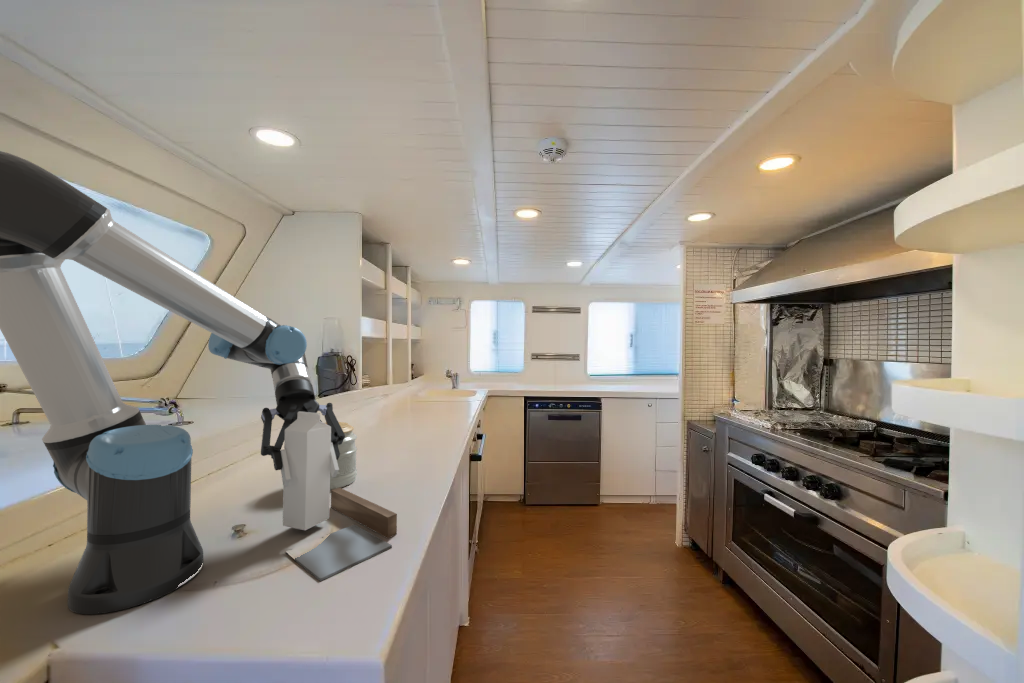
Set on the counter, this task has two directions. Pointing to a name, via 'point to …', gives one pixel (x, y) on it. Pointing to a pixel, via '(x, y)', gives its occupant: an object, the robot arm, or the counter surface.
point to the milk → (307, 472)
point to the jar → (345, 459)
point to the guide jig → (350, 536)
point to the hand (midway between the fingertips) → (312, 477)
